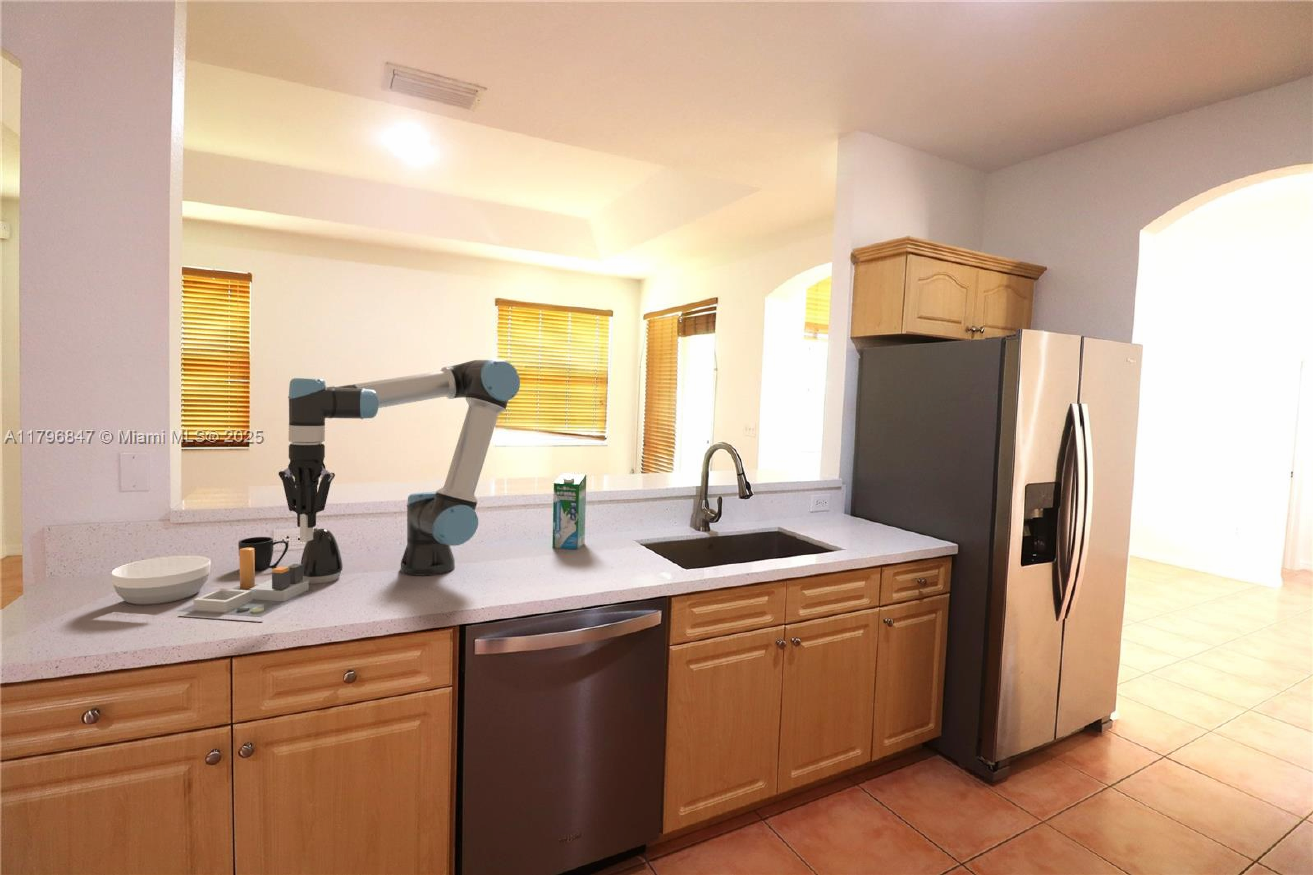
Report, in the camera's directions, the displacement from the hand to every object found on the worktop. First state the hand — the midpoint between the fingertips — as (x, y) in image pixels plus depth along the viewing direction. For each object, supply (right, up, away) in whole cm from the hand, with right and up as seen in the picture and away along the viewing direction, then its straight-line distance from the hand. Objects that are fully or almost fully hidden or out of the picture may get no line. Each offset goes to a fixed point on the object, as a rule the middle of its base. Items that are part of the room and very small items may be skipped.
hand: (306, 540), depth 149 cm
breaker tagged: (-7, -12, +2) cm, 14 cm away
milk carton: (+54, -13, +68) cm, 88 cm away
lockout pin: (-20, -14, +9) cm, 26 cm away
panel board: (-14, -16, +1) cm, 21 cm away
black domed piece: (-6, -15, +19) cm, 25 cm away
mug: (-27, -14, +26) cm, 40 cm away
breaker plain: (-7, -11, +7) cm, 15 cm away
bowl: (-36, -15, +2) cm, 39 cm away
